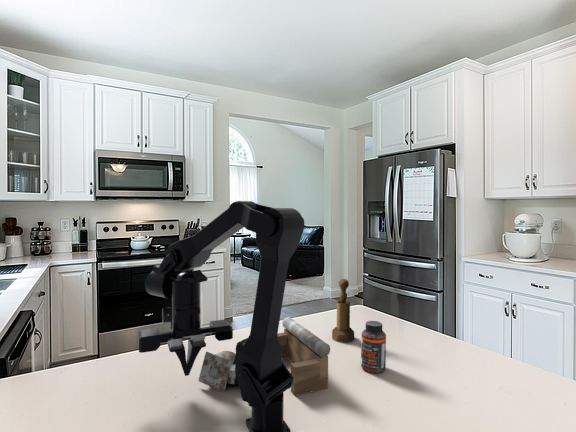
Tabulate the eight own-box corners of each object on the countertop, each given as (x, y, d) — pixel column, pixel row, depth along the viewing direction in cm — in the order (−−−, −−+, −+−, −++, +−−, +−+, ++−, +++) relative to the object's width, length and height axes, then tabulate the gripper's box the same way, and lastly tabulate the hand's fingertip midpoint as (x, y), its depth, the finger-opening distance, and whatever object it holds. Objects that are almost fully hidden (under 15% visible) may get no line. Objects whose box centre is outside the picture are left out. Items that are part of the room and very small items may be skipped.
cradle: (330, 387, 78) (330, 342, 78) (294, 395, 75) (294, 348, 74) (292, 353, 96) (292, 316, 96) (262, 358, 93) (262, 320, 93)
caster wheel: (260, 386, 84) (241, 402, 74) (219, 369, 87) (196, 381, 78) (267, 358, 84) (250, 370, 75) (226, 342, 88) (204, 351, 78)
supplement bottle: (357, 370, 86) (358, 324, 86) (364, 361, 92) (365, 317, 91) (382, 376, 84) (383, 328, 83) (388, 366, 89) (388, 321, 89)
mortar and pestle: (330, 341, 105) (330, 280, 105) (333, 333, 112) (334, 276, 111) (352, 343, 103) (353, 281, 103) (355, 335, 110) (356, 277, 109)
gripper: (221, 289, 86) (221, 353, 87) (137, 297, 79) (138, 367, 79) (233, 300, 76) (233, 372, 76) (138, 310, 69) (139, 390, 69)
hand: (186, 374), depth 76 cm, fingers closed
